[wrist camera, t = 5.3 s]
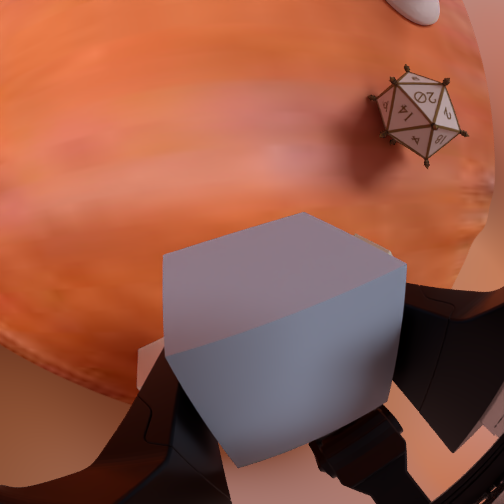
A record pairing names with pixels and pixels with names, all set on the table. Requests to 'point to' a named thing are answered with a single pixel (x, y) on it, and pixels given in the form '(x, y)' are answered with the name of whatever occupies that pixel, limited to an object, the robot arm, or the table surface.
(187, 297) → the slate blue cube
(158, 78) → the table surface
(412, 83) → the game die
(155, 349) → the cream cube
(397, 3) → the candlestick
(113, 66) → the table surface
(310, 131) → the table surface
